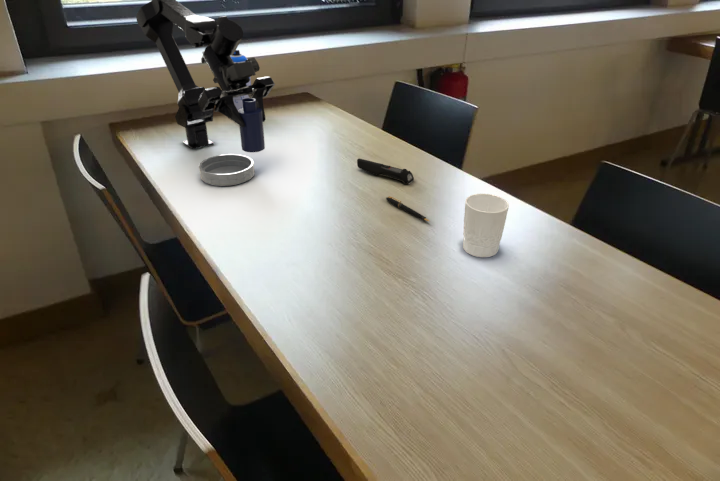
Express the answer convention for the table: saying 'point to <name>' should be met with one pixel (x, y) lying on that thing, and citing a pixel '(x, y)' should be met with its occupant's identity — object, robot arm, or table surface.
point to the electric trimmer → (386, 170)
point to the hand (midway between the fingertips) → (254, 123)
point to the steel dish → (226, 169)
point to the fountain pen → (405, 208)
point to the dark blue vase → (251, 126)
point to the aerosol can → (238, 100)
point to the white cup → (484, 224)
